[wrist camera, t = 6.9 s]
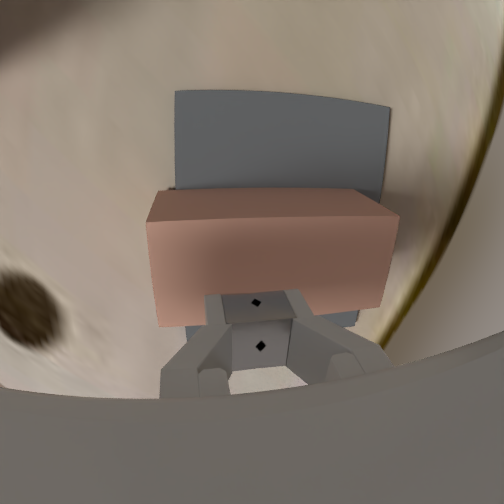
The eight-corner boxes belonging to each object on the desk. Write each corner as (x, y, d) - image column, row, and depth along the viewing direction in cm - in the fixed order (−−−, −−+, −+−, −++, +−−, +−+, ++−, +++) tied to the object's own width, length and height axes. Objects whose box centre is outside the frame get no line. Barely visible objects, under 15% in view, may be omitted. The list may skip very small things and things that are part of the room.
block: (145, 222, 11) (400, 216, 12) (158, 190, 15) (353, 188, 16) (159, 327, 13) (379, 306, 14) (164, 274, 17) (342, 264, 18)
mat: (175, 91, 13) (175, 90, 13) (385, 107, 15) (389, 107, 15) (186, 338, 19) (187, 342, 19) (352, 322, 21) (354, 325, 21)
